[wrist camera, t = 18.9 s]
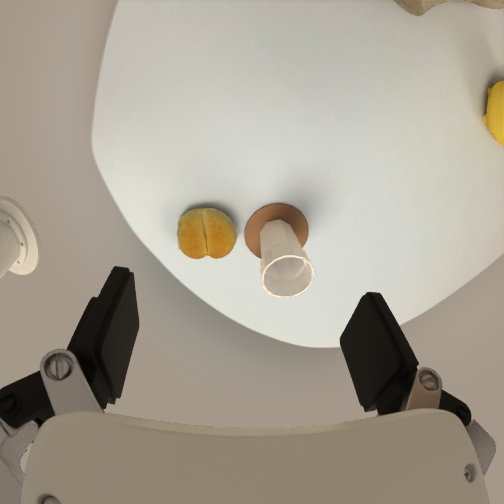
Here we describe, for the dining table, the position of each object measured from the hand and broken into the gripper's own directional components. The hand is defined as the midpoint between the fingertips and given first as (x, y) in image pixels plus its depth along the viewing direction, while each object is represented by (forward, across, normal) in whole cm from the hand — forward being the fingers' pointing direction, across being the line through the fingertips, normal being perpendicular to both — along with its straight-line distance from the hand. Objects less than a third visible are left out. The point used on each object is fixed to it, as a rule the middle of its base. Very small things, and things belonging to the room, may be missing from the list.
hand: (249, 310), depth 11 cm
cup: (+30, -8, +12) cm, 33 cm away
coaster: (+30, -8, +12) cm, 34 cm away
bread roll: (+31, +3, +13) cm, 33 cm away
